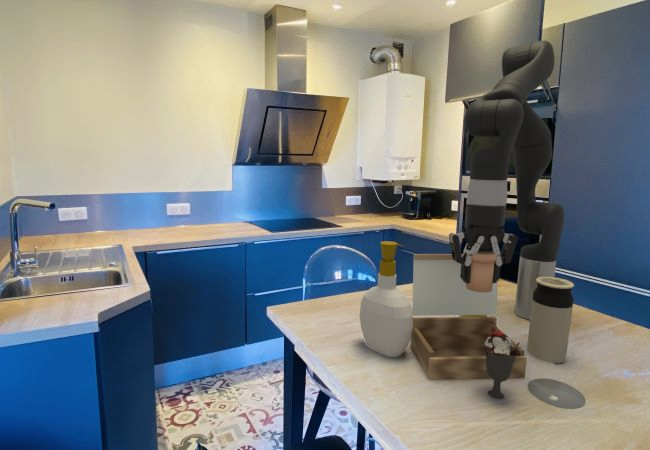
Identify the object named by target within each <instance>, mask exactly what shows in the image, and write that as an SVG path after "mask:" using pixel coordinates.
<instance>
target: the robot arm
mask: <svg viewBox="0 0 650 450" xmlns="http://www.w3.org/2000/svg"><path fill="white" fill-rule="evenodd" d="M554 68H555V50H554V47H553V45H552V43H551V42H550V41H548V40H537V41H533V42H528V43H525V44H520V45H516V46H512V47H509V48H507V49H505V50H504V52H503V54H502V58H501V72H502V78H501V79H500V80H499V81H498V82H497V83H496V84H495V85H494V86H493V88H492V89H491V91H488V92H486V93H485V94H483V95H481V96H479V97H477V98H476V99H475V100H473V102H471V104H470V105H469V106H468V107H467V109H466V111H465V114H464V119H463V122H464V123H463V124H464V128H465V130H466V132H467V133H468V134H469V135H470V136H472V137H474V138H475V137H476V138H496V137H497V138H498V139H497V142H496V143H495V144H494V145H493V146H491V147H487V148H481V149H477V150H475V151H474V152H472V154H471V159H470V168H469V169H470V173H469V182H468V186H467V192H466V204H465V205H466V206H465V216H464V217H465V218H464V228H463V230H462V232H457V233H453V232H451V233H449V234H448V238H449V245H450V252H451V254H452V259H453V260H454V261H456V262H457V263H460V264H461V272H460V273H461V274H460V277H461V279H462V280H463V282H465V283H470V274H471V266H470V264H471V262H472V260H471V256H473V255H474V253H477V252H478V251H493V252H494V253H497V261H495V263H494V273H493V283H497V280H498V281H499V280H500V277H501V268H502V265H504V264H510V263H511V262H512V258H513V255H514V253H515V249H516V246H517V243H518V239H519V236H518V235H516V234H513V233H509V232H508V233H506V232H505V230H504V226H505V220H506V210H507V201H508V174H509V163H510V159H511V158H510V157H511V154H512V155H513V156H512V157H513V162H514V168H515V169H514V170H515V180H516V181H515V182H516V219H517V224H518V227H519V229H520V230H521V232H524V233H526V234H527V233H528V234H533V235H538V236H539V235H540V236H541V237H540V241H538V242H537V243H533V244H526V245H523V246H522V247H521V248H520V254H519V263H518V273H517V282H516V292H515V302H514V303H515V304H514V310H513V311H514V314H515V315H517V316H519V317H520V318H522V319H525V320H529V321H530V317H531V308H532V299H533V292H534V291H535V289H536V288H537V282H536V279H537V278H539V277H554V278H555V276H556V275H555V274H556V265H557V260H558V259H557V258H558V253H559V250H560V245H561V239H562V233H563V227H564V223H565V222H564V221H565V210H564V208H563V206H562V205H561V204H559V203H554V202H545V201H537V200H536V187H537V185H538V183H539V180H540V178H541V177H542V176H543V174H544V173H545V171H546V169H547V168H548V167H549V165H550V163H551V161H552V157H553V145H552V143H553V142H552V132H551V130H550V128H549V127H548V125H547V123H546V122H545V121H544V120H543V119H542V117H540V116H539V114H537V113H536V111H535V110H534V109H533V108H532V106H531V105H530V104H529V102H528V100H527V98H528V97H529V96H530V95H531V94H532V93H533V92H534V91H535V90H536V89H537V88H538V87H540V86H541V85H542V84H543V83H544V82H545V81H547V80H548V79H549V78H550V77H551V75H552V74H553V71H554ZM463 239H464V240H465V243H466V244H465V247H464V249H463V253H462V249H461V244H462V243H463ZM502 241H503V245H502V249H501V252H500V248H499V244H500V243H501V242H502ZM470 249H471V250H470ZM461 254H463V255H461ZM466 254H467V257H466Z"/></svg>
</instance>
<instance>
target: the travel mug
mask: <svg viewBox="0 0 650 450" xmlns="http://www.w3.org/2000/svg"><path fill="white" fill-rule="evenodd" d="M536 282H537V288H536V289H535V291H534V292H533V299H532V308H531V317H530V320H529V327H528V335H527V336H528V338H527V343H526V344H527V346H526V351H527V353H528V354H529V355H530V356H532V357H534V358H536V359H538V360H541V361H546V362H549V363H553V364H561V363H565V361H566V359H567V353H568V347H569V346H568V345H569V337H570V330H571V329H570V328H571V323H572V313H573V307H574V306H573V305H574V297H573V294H572V290H573V288H574V286H575V284H574V282H572V281H570V280H568V279H564V278H559V277H555V276H554V277H539V278H537V279H536Z"/></svg>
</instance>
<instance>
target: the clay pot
mask: <svg viewBox="0 0 650 450" xmlns="http://www.w3.org/2000/svg"><path fill="white" fill-rule="evenodd" d="M470 250H471V249H470ZM466 257H467V254H466ZM471 260H472V262H471V264H470V266H471V274H470V283H466V288H467V289H469V290H471V291H475V292H484V293H485V292H491V291H492V284H493V273H494V263H495V261H497V253H494V252H493V251H478V252H477V253H474V255H473V256H471Z"/></svg>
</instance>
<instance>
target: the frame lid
mask: <svg viewBox="0 0 650 450" xmlns="http://www.w3.org/2000/svg"><path fill="white" fill-rule="evenodd" d="M412 255H413V264H412V265H413V266H412V267H413V268H412V269H413V270H412V272H413V274H412V277H413V278H412V307H411V310H412V314H413V317H414V316H459V315H487V316H497V311H498V289H499V287H498V283H499V282H498V281H499V280H497V283H493V284H492V291H491V292H485V293H484V292H475V291H471V290H469V289H467V288H466V283H465V282H463V280H462V279H461V277H460V274H461V273H460V272H461V264H460V263H457V262H456V261H454V260H453V259H452V253H451V254H450V253H413V254H412ZM461 255H463V253H461Z"/></svg>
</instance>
